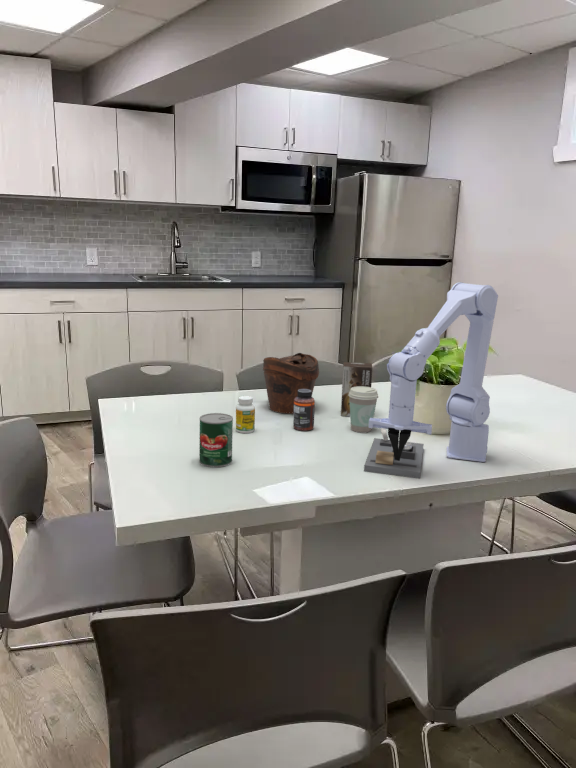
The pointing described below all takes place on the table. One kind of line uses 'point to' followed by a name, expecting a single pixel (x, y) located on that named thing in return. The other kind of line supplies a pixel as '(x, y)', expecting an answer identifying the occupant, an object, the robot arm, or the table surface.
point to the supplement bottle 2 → (304, 410)
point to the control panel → (404, 467)
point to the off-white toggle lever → (384, 434)
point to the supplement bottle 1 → (245, 415)
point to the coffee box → (354, 381)
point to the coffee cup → (362, 407)
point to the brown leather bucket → (288, 379)
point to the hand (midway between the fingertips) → (397, 459)
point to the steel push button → (407, 447)
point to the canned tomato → (215, 439)
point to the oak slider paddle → (385, 457)
